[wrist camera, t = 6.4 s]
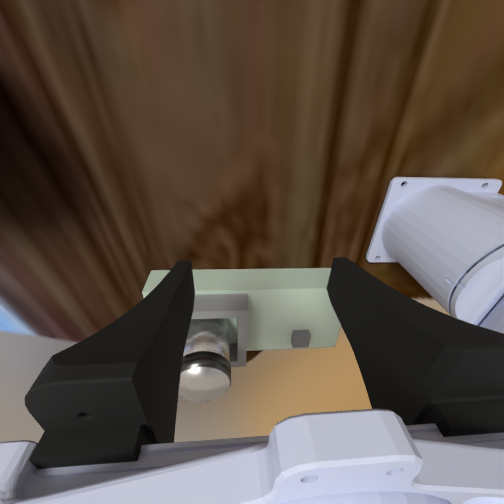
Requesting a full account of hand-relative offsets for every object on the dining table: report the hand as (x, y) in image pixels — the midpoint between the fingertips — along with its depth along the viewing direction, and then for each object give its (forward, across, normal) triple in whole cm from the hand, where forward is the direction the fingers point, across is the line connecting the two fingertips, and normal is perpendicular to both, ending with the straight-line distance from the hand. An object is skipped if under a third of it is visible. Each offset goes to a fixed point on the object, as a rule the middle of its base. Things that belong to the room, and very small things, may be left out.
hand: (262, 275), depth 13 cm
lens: (+6, +4, +10) cm, 13 cm away
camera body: (+9, 0, +10) cm, 14 cm away
